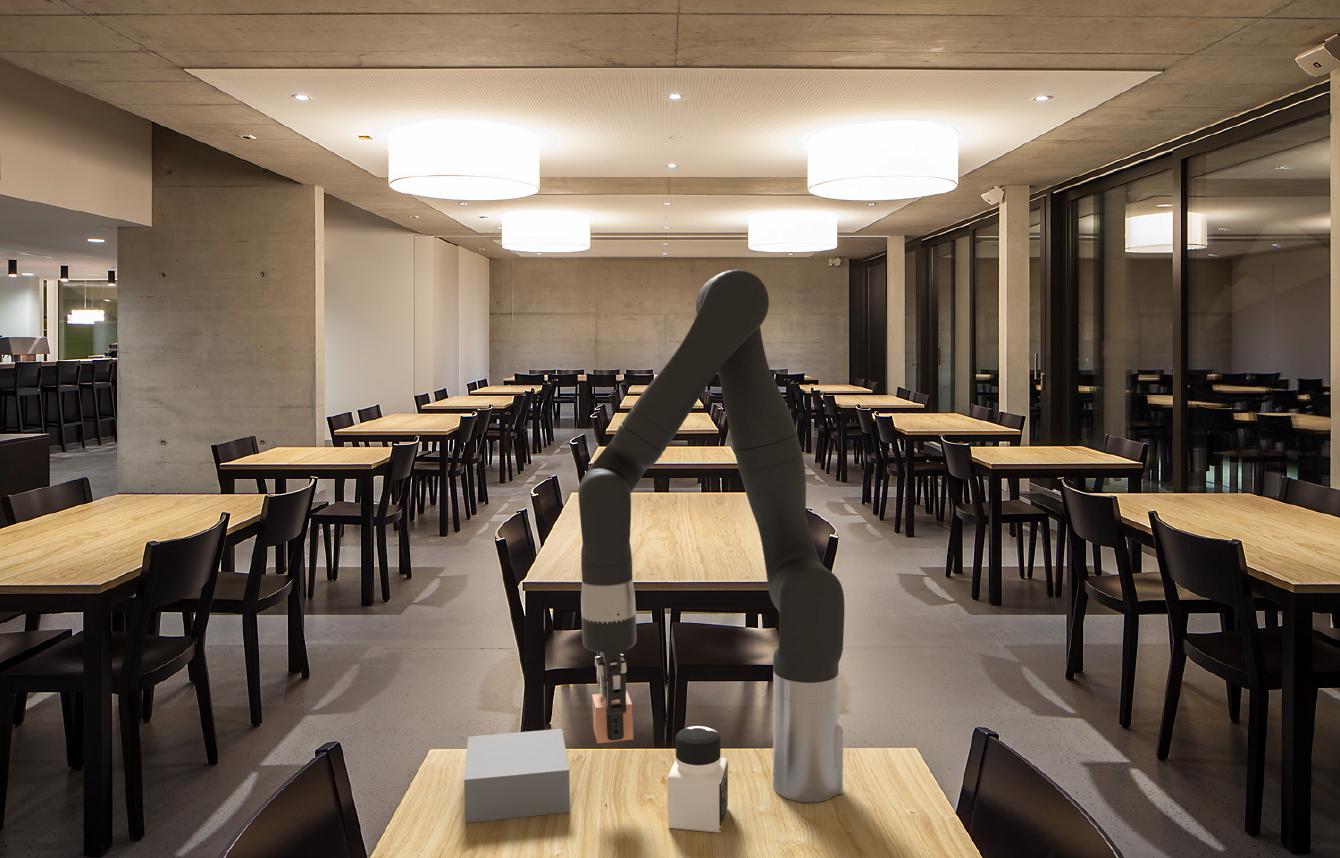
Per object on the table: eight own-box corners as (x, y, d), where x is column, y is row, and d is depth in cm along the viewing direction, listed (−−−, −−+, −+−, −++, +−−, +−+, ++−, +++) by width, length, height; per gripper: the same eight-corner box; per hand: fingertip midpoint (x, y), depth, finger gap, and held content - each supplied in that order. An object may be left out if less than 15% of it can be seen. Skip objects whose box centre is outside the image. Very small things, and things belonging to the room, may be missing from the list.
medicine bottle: (720, 834, 114) (720, 745, 113) (667, 829, 116) (666, 740, 115) (728, 807, 121) (727, 723, 120) (677, 802, 123) (677, 719, 122)
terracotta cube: (628, 725, 125) (626, 691, 125) (633, 739, 121) (632, 704, 120) (593, 728, 125) (592, 694, 124) (597, 743, 120) (595, 708, 119)
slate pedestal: (562, 766, 134) (562, 728, 133) (569, 812, 120) (569, 770, 120) (469, 775, 131) (468, 736, 131) (465, 823, 117) (464, 779, 117)
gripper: (643, 624, 115) (647, 749, 116) (628, 596, 129) (632, 708, 130) (586, 629, 114) (591, 756, 115) (577, 600, 128) (581, 714, 129)
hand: (613, 730), depth 123 cm, fingers closed on terracotta cube, 5 cm apart
